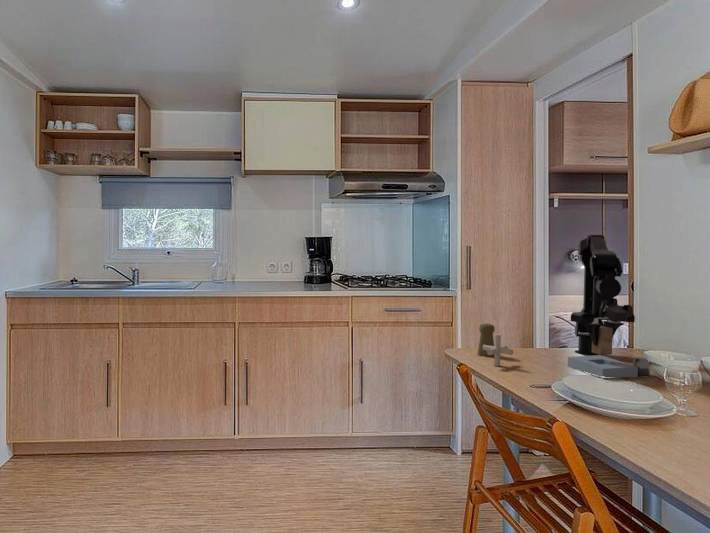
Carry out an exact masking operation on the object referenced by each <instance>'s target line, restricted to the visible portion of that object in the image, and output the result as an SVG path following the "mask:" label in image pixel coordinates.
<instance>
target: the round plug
mask: <svg viewBox="0 0 710 533" xmlns="http://www.w3.org/2000/svg"><path fill="white" fill-rule="evenodd" d="M646 358H647V357H645V356H632V365H633V366H636V367H638V377H640V376H649V377H650V375H651V374H650V373H651V371H650V370H651V364H650V365H649V362H648V360H647V359H646Z"/></svg>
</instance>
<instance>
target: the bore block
mask: <svg viewBox="0 0 710 533" xmlns="http://www.w3.org/2000/svg"><path fill="white" fill-rule="evenodd" d="M567 367H568V368H572V369H574V368H575V369H574V370H577V369H578V371H579V370H581V371H580V372H582V371H585V372H588V373H591V374H595V375H598V376H605V377H629V378H638V377H639V376H638V367H636V366H633V364H629V363H627V362H623V361H619V360H617V359H613V358H610V357H607V356H605V355H577V356H575V355H573V356H567ZM585 372H584V373H585ZM637 376H638V377H637Z"/></svg>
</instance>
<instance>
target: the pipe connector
mask: <svg viewBox="0 0 710 533" xmlns="http://www.w3.org/2000/svg"><path fill="white" fill-rule="evenodd" d="M501 340H502V335H501V334H500V333H496V334H494V346H489V345H483V347H482V349H483V350H486V351H487V354H488V355H493V354H494V359H493V360H494V361H493V366H495V367H500V366H501V354H504V355H508V356H509V355H510V356H513V354H514V350H513V349H512V348H509V347H508V345H506V344H504V345H501V343H502V342H501Z"/></svg>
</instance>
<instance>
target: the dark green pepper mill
mask: <svg viewBox="0 0 710 533" xmlns="http://www.w3.org/2000/svg"><path fill="white" fill-rule="evenodd" d="M478 328H479V330H478V331H479V333H480V336H479V342H478V348H477V356H479V355H480V356H479V357H483V356H485V358H491V357H490V356H494V354H493V355H488V354H487V351H486V350H483V349H482V347H483V345H489V346H495V339H494V332H495V330H496V329H495V326H494V324H493V323H482V324H480V325H479V326H478Z"/></svg>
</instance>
